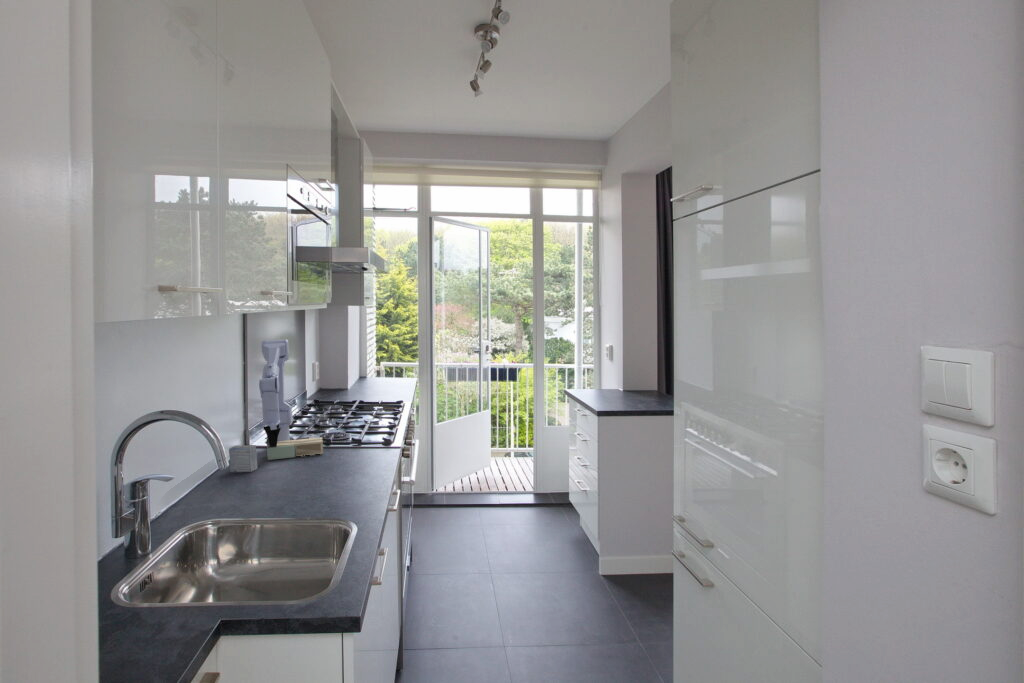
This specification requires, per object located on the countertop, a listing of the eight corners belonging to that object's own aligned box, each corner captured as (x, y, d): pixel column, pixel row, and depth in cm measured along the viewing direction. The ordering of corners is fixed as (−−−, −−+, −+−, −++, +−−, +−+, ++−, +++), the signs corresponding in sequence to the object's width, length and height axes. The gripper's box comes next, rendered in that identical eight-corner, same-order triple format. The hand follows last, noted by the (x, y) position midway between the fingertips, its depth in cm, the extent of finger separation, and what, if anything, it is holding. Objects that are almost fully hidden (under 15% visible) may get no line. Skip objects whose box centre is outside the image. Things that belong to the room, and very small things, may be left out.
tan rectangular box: (268, 455, 240) (268, 442, 240) (322, 449, 246) (322, 437, 246) (267, 459, 232) (266, 446, 232) (323, 454, 238) (322, 441, 238)
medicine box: (258, 469, 220) (256, 445, 219) (251, 472, 215) (250, 448, 215) (236, 469, 220) (235, 445, 220) (230, 472, 216) (228, 448, 215)
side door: (268, 459, 232) (266, 438, 231) (296, 456, 235) (294, 435, 235) (267, 460, 231) (266, 438, 230) (296, 457, 234) (294, 436, 233)
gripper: (257, 408, 235) (259, 443, 235) (260, 413, 222) (263, 451, 222) (277, 406, 238) (279, 440, 239) (281, 411, 225) (283, 448, 226)
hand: (272, 445), depth 231 cm, fingers open, 3 cm apart
